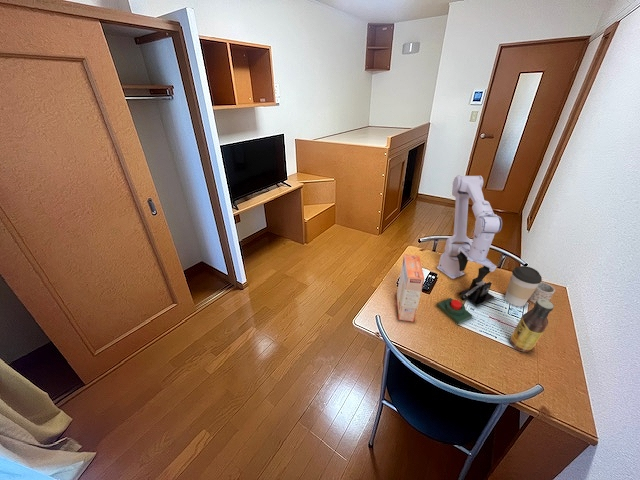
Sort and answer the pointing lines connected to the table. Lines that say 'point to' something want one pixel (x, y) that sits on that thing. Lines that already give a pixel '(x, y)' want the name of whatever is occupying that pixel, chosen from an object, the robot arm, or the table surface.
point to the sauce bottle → (531, 326)
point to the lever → (472, 290)
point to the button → (456, 304)
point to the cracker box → (409, 287)
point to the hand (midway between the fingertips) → (470, 275)
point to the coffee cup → (522, 285)
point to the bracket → (479, 294)
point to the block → (454, 311)
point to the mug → (542, 292)
